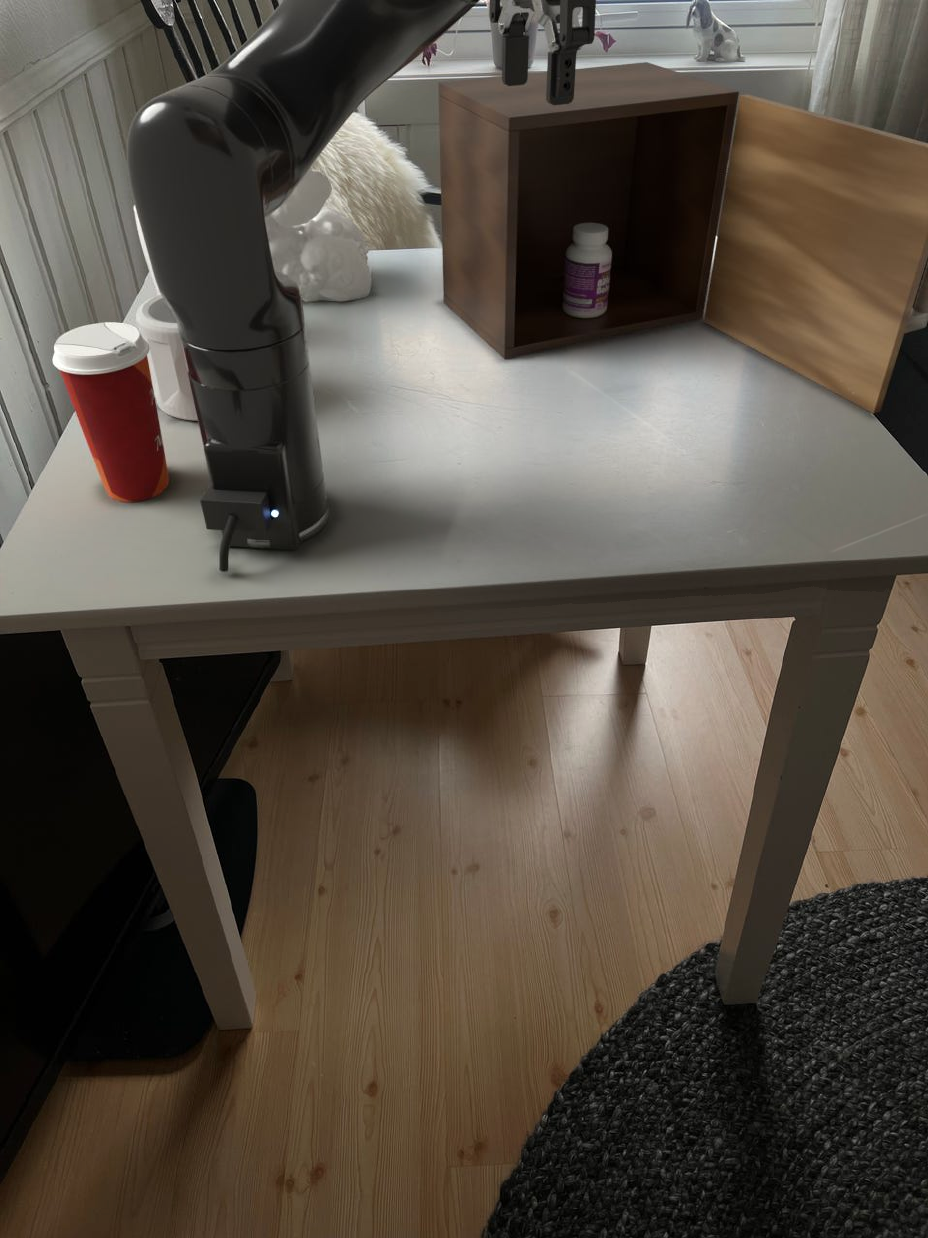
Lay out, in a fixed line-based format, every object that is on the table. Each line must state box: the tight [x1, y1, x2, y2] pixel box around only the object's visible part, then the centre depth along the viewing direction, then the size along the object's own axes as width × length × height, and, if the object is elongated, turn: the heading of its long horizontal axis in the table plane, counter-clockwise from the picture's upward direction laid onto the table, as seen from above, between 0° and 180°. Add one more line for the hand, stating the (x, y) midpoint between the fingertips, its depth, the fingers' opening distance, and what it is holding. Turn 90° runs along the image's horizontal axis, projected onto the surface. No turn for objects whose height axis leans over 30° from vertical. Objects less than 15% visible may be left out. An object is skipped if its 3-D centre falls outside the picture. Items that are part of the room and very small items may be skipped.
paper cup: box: [52, 321, 170, 503], centre depth 81 cm, size 8×8×14 cm
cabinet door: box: [703, 93, 928, 415], centre depth 96 cm, size 7×26×24 cm, turn 28°
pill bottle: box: [563, 223, 612, 318], centre depth 109 cm, size 5×5×10 cm
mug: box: [135, 294, 198, 422], centre depth 96 cm, size 14×11×10 cm
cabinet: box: [437, 61, 740, 360], centre depth 107 cm, size 18×26×24 cm
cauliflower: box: [265, 167, 372, 303], centre depth 118 cm, size 19×20×20 cm
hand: (536, 93), depth 80 cm, fingers open, 8 cm apart
